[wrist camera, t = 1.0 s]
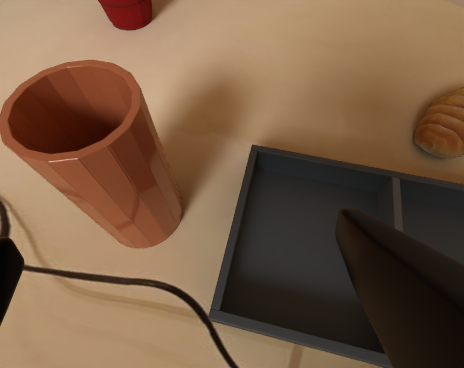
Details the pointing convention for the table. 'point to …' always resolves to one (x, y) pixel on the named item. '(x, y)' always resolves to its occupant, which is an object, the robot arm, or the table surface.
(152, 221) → the cup
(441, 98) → the pastry
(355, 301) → the tray
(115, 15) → the plastic cup
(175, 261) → the table surface
